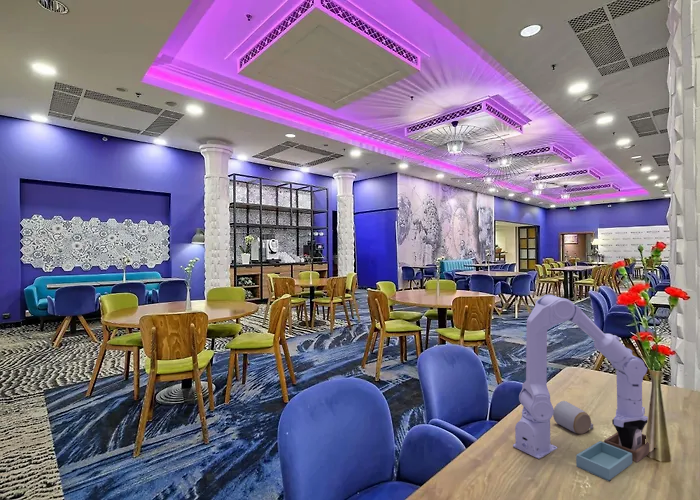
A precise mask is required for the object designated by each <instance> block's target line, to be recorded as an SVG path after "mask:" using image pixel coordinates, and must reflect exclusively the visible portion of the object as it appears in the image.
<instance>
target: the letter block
mask: <svg viewBox="0 0 700 500" xmlns="http://www.w3.org/2000/svg"><path fill="white" fill-rule="evenodd" d="M642 434H643V431H642V430H640V429H637V430H636V432H635V434H634V438H633V445H632V448H631V450H634V451H636V450H637V449H638V448H640V447H641V446H642ZM619 445H621V441H620V438H619ZM621 446H622V445H621Z"/></svg>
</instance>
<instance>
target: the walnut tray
mask: <svg viewBox="0 0 700 500" xmlns="http://www.w3.org/2000/svg"><path fill="white" fill-rule="evenodd" d="M646 435H647V434H644V433H642V446H641V447H640V448H638V449H637V450H636V451H634V450H631V449H628V448H626V447H623V446H621V445H619V435H618V432H617V431H616V433H614V434H612V435H611V436H609V437H606V439H604V440H603V442H604V443H607V444H609V445H612V446H614V447H617V448H620V449H622V450H625V451H627V452H630V453H632V462H634V463H639V462H640V461H641V460H643V459H644V458H645V457H646V456H648V455H649V454H650V453H649V443H648V442H647V443H646V444H645V439H646ZM648 453H649V454H648Z"/></svg>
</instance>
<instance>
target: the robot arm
mask: <svg viewBox="0 0 700 500" xmlns="http://www.w3.org/2000/svg"><path fill="white" fill-rule="evenodd" d="M566 321H569V322H571V323H573V324H574V325H576V326H577V327H578V328H579V329H581V330H582V332H584V333H585V334H586V335H587V336H588V337H590V338H591V339H592V340H593V346H594V348H595V349H596V350H597V351H598V352H599V353H601V355H603V357H605V359H607V360H608V361H609V362H610V364H611V366H612V368H614V369H616V372H615V373H616V410H615V416H614V417H613V419H612V420H611V421H612V422H611V423H612V425H613V427H614V428H615V430H616V433H617V432H618V435H619V438H620V441H621V445H622V446H623V447H626V448H628V449H631V448H632V445H633V438H634V434H635V432H636V430H637V429H640V430H642V432H643V430H644V428H645V426H646V425H647V424H648V421H649V420H648V419H649V417H648V416H647V415H645V414H646V413H645V412H646V409H645V408H646V407H644V406H643V382H644V380H643V379H644V376H645V375H646V374H647V372H648V367H647V366H646V364H645V361H644V360H643V359H642V358H640V357H638V356H635V355H633V350H632V349H631V348H628V347H626V346H625V345H624V344H623V343H622V342H621V341H620V340H621V338H620V337H619V336H617V335H615V334H614V335H613V334H612V333H604V332H603V331H602V330H601V328H600V327H599V326H598V325H596V323H595V322H594V321H593V320H591V319H590V317H589V316H588V315H586V313H585V312H584V311H583V310H582V309H581V308H580V307H579V306H577V305H576V304H574V303H573V301H571V300H570V299H568V298H564V297H558V296H556V295H554V294H545V295H543V296H541V297H540V298H538V299H537V300H536V301H535V305H534V308H533V309H532V311H531V312H530V313H529V315H528V317H527V319H526V332H525V333H526V336H525V337H526V338H525V339H526V340H525V342H526V345H525V346H526V347H525V349H526V351H525V352H526V353H525V355H526V356H525V357H526V358H525V359H526V360H525V362H526V363H525V381H524V382H522V385H521V386H522V389H521V391H520V392H519V395H518V401H519V402H520V404H521V406H522V411H521V418H520V419H519V421H517V423H516V424H515V428H514V430H515V433H514V434H515V443H514V444H512V447H513V448H515V449H518V450H520V451H521V452H523V453H525V454H527V455H530V456H532V457H534V458H536V459H542V458H543V457H545V456H547V455H549V454H550V453H552V452H553V451H555V450H557V449H558V446H556V445H554V444H551V419H552V418H553V413H554V408H555V407H554V405H553V404H552V402H551V395H550V394H551V393H550V391H549V388H548V386H547V385H548V384H547V381H548V380H547V379H548V378H547V375H548V373H547V372H548V371H547V369H548V367H547V366H548V365H547V364H548V359H547V358H548V354H547V353H548V348H547V347H548V340H547V339H548V331H549V329H551V328H552V327H553V326H555V325H558V324H561V323H564V322H566Z"/></svg>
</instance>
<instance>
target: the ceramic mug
mask: <svg viewBox="0 0 700 500" xmlns="http://www.w3.org/2000/svg"><path fill="white" fill-rule="evenodd" d="M553 408H554V413H553V416H552V418H553V420H554V422H555V423H556V424H557V425H559V426H561V427H563V428H564V429H567V430H568V431H571V432H573V433H575V434H577V435H583V434H586V433H588V431H589V430H593V428H594V423H592V420H591V417H590V415H589V414H588V413H587V412H586V411H584V410H583V409H581V408H579V407H578V406H576V405H574V404H573V403H570V402H569V401H566V400H562V401H559V402H558V403H556V405H555V406H554V407H553Z"/></svg>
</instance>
